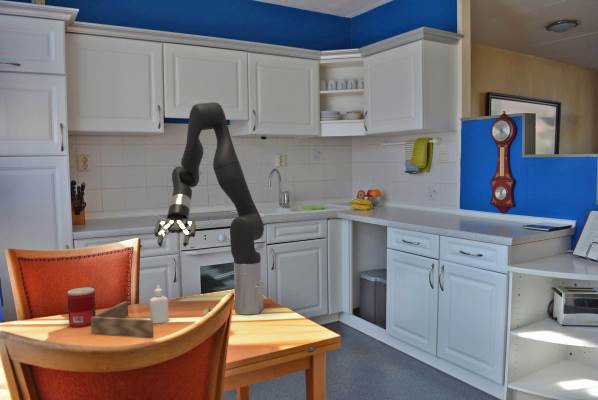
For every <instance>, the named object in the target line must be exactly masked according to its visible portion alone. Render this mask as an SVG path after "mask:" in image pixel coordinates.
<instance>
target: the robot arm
mask: <svg viewBox="0 0 598 400" xmlns="http://www.w3.org/2000/svg"><path fill="white" fill-rule="evenodd" d="M206 130H207V131H209V130H213V132H214V133H215V138H216V149H215V153H214V157H213V162H212V164H213V165H212V166H213V171H214V174H215V177H216V180H217V183H218V184H219V187H220V188H221V189H222V191H223V192H224V193H225V195H226V196H227V197H228V198H229V199H230V200H231V202H232V203H233V205H234V207H235V210H236V212H237V214H238V216H237V217H235V218H233V220H232V221H231V224H230V227H229V240H230V241H229V242H230V252H231V255H232V257H233V280H234V282H233V285H234V287H233V288H234V312H235V313H236V314H238V315H246V316H247V315H258V314H260V313H261V312H262V311H263V310H264V282H263V281H262V266H261V265H262V261H261V259H262V258H261V253H260V252H258V251H256V248H255V241H257V240H259V239H261V238H262V237H263V236H264V235H263V234H264V231H265V226H264V221H263V219H262V217H261V215H260V213H259V210H258V209H257V206H256V204H255V202H254V200H253V198H252V197H253V196H252V194H251V191H250V190H249V186H248V184H247V180H246V178H245V174H244V172H243V168H242V166H241V163H240V161H239V159H238V155H237V152H236V150H235V147H234V143H233V140H232V138H231V133H230V129H229V126H228V121H227V118H226V115H225V111H224V109H223V107H222V105H221V104H220V103H218V102H214V101H213V102H203V103H196V104H194V105H193V106H192V107H191V109H190V111H189V117H188V124H187V135H186V144H185V147H184V151H183V155H182V156H181V157H182V158H181V160H180V161H181V162H180V165H181V166H176V167H175V168H174V169H173V170H172V172H171V181H172V187H173V191H172V196H171V199H170V202H169V207H168V211H167V214H166V215H167V216H166V220H164V221H161V220H160V219H158V220H157V221H156V224H155V228H154V230H153V233H154V236H155V238H157V240H156V241H157V244H158V247H161V248H162V247H163V243H164V237H166V236H168V235H169V234H170V233H171V234H174V233H177V234H180V233H182V234H183V235H184V237H183V242H182V246H183V247H184V248H185V247H187V246H188V245H189V243H190V242H189V241H190V238H191V237H192V238H195V237H196V230H197V229H196V228H197V223H196V220H195V219H192V220H191V221H189V216H190V212H191V202H192V201H191V200H192V195H193V189H192V188H195V187H196V186H198V184H199V182H200V165H201V162H202V159H203V157H204V147H203V144H202V142H201V140H200V135H201V132H202V131H206ZM187 227H190V231H188V230H187Z"/></svg>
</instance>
